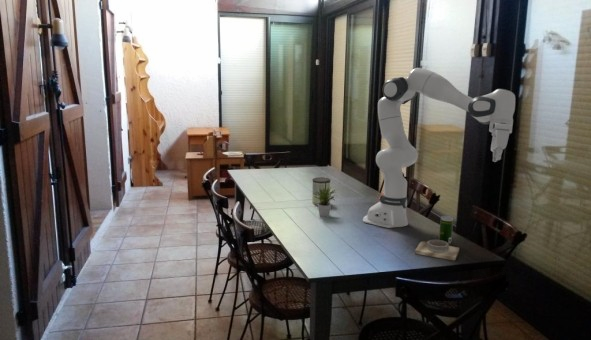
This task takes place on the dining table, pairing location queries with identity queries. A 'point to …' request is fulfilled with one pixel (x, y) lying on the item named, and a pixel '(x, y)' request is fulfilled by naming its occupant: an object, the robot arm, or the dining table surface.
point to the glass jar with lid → (320, 183)
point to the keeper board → (437, 249)
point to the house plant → (324, 201)
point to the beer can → (446, 229)
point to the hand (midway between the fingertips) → (496, 160)
